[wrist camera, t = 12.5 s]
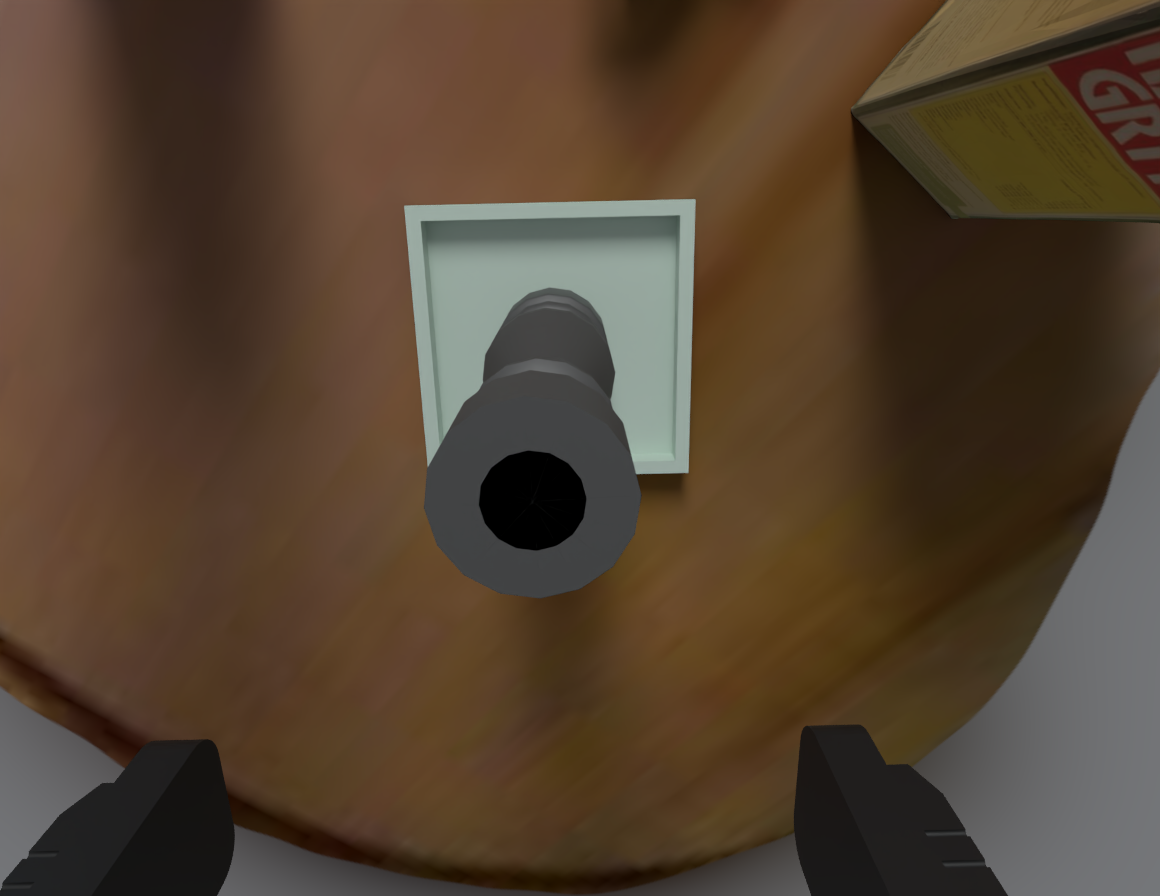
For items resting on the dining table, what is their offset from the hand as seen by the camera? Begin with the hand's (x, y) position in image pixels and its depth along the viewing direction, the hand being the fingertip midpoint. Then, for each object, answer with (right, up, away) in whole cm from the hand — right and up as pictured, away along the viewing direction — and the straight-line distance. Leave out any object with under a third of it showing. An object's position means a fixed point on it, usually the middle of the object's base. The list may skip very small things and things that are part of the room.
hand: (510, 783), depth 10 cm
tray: (0, +11, +33) cm, 35 cm away
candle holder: (-1, +11, +33) cm, 35 cm away
